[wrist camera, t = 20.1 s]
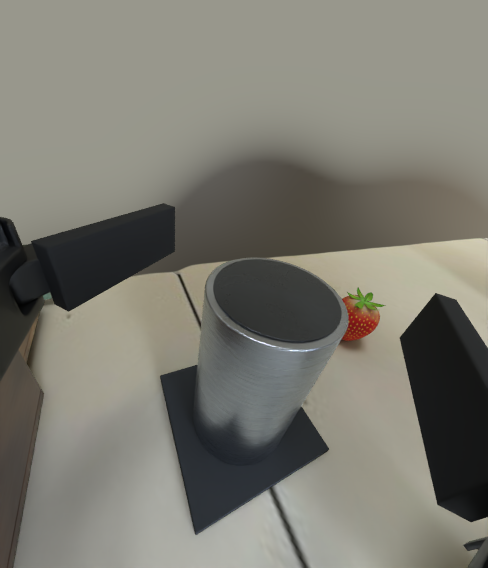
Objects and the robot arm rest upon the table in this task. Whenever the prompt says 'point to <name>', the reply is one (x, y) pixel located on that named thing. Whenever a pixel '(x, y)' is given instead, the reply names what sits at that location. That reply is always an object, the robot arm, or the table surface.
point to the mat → (222, 476)
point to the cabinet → (16, 449)
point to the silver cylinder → (260, 353)
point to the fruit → (360, 315)
